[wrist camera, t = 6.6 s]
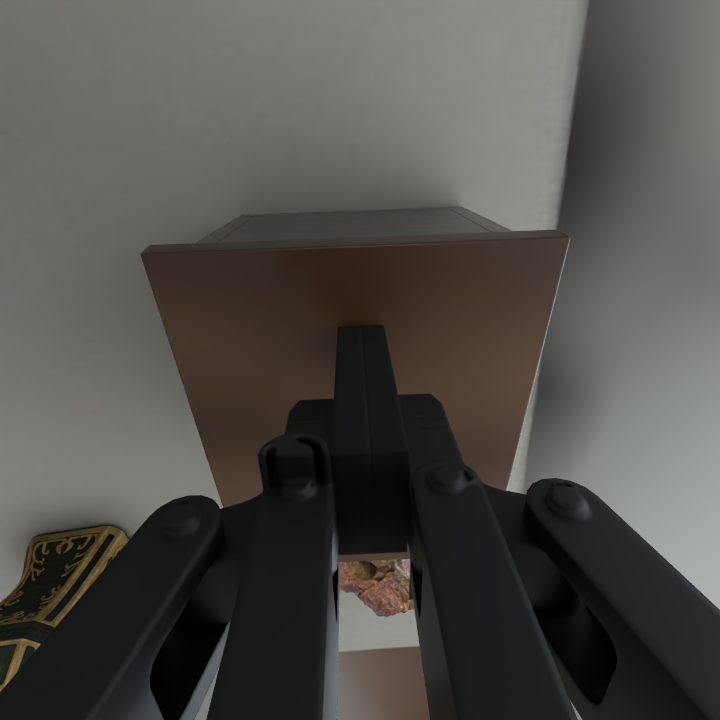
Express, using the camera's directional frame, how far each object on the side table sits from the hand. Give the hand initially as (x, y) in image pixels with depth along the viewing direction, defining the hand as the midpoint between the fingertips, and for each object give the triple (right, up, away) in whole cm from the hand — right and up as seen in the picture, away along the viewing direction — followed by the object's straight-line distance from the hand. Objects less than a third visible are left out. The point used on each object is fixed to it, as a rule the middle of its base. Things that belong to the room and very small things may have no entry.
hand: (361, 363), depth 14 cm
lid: (0, -3, +4) cm, 5 cm away
